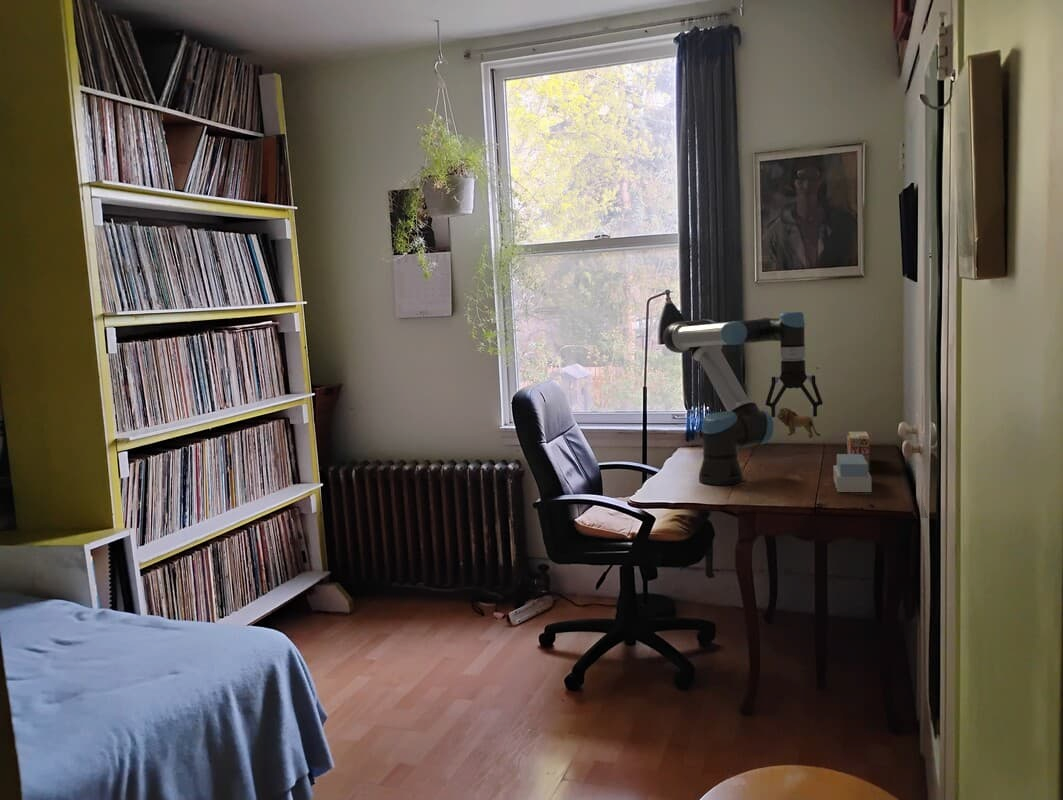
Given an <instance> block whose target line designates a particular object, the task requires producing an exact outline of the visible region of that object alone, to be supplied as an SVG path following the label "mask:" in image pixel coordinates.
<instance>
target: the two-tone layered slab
mask: <svg viewBox="0 0 1063 800" xmlns="http://www.w3.org/2000/svg"><path fill="white" fill-rule="evenodd" d="M832 469H833V482H835V483H834V485H836V486H835V489H836V488H837V489H836V492H837V491H838V492H872V476H871V474H870V471H869V472H868V464H867V462H866V460H865V459H864V457H863V455H862V454H848V453H836V465H833V467H832ZM838 492H837V493H838Z"/></svg>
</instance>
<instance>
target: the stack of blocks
mask: <svg viewBox="0 0 1063 800" xmlns="http://www.w3.org/2000/svg"><path fill="white" fill-rule="evenodd" d="M846 444H847V449H846V450H847V454H862V455H863V457H864V459H865V460H866V462H867V464H868V471H869V472H870V465H871V464H870V452H871V451H870V449H871V448H870V435H869V434H868V432H867V431H848V435H846Z"/></svg>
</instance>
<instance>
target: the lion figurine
mask: <svg viewBox="0 0 1063 800" xmlns="http://www.w3.org/2000/svg"><path fill="white" fill-rule="evenodd" d="M777 415H778V421H780V422H782V423H783V424H784V426H786V427H788V430H789V433H788V434H787V436H793V435H795V434H796V428H803V427H804V429H805V430H806V432H808V433H807V436H808V438H810V439H811V438H814V434H815V435H816V436H818V437H821V436H822V435H821V434H820V433H818V432H817V430H816V428H815V425H814V424H815V423H814V424H813V421H814V420H813V421H812V419H811V416H809V415H808V416H807V415H804V416H799V415H798V414H797V413H796V411H795V412H794V411H793V410H791V409H790V408H786V407H782V408H780V409H779V411H778V413H777ZM812 429H813V430H812ZM813 431H814V433H813Z"/></svg>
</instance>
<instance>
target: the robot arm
mask: <svg viewBox="0 0 1063 800" xmlns="http://www.w3.org/2000/svg"><path fill="white" fill-rule="evenodd" d="M805 326H806V323H805V317H804V313H803V312H802V311H785V312H781V313H780V314H779V318H773V317H771V318H770V317H761V318H758V319H750V320H732V321H727V322H716V321H714V320H712V319H703V318H702V319H698V320H687V321H686V320H685V321H676V322H673V323H671V324H669V325H668V326H667V327H666V328H665V330H664V332H663V335H662V340H663V344H664V346H665V348H666V349H668V350H669V351H671V352H673V353H677V354H681V353H682V354H684V353H690V355H691V356H692V358H693V360H694V361H696V362H700V364H701V367H702V368H703V370H704V372H705V373H706V375H707V376H708V378H709V381H710V383H711V384H712V386H713V389H714V390H715V392H716V394H717V395H718V398H719V399H720V400H721V402H722V405H723V406H724V407H725V408H724V409H726V411H721V412H719V411H718V412H713V413H710V414H707V415H706V416H704V418H703V420H702V427H701V432H702V451H703V452H702V453H703V457H702V461H701V467H700V470H699V473H698V481H699V483H701V482H703V483H702V484H704V483H707V484H706V485H710V484H713V485H712V486H730V485H729V484H732V485H737V484H741V483H743V482H744V480H745V479H744V472H743V468H742V466H741V464H740V461H739V455H738V449H741V448H747V447H754V446H760V445H763V444H766V443H768V442H769V441H770V439H771V438H773V434H774V428H778V426H779V423H778V422H779V418H778V406H776V405H777V404H778V403H779V401H780V399H781V398H782V396H783V395H784V393H785V391H786V390H787V389H801V390H802V392H803V393H804V395H805V396H806V398H807V400H808V401H809V402H810V403H811V405H810V418H811V419H812V421H813V424H815V423H814V417H817V416H818V407H819V406H822V405H823V403H824V402H823V399H822V397H821V394H820V392H819V389H818V386H817V383H816V375H815V374H812V375H807V373H806V360H804V359H805V358H806V346H805V345H806V342H805V341H806V340H805ZM778 341H779V342H780V359H781V362H780V375H778V376H777V375H776V376H774V375H773V376H771V385H770V388H769V391H768V394H767V398H766V401H765V406H766V407H770V410H771V411H770V413H771V414H770V413H769V412H768V411H766V410H763V409H762V410H760V408H759V407H758V405H757V404H756V402H754V401H750V399H749V397H748V395H747V394H746V392H745V390H744V389H743V387H742V385H741V383H740V382H739V380H738V378H737V377H736V375H735V373H734V371H733V369H732V367H731V366H730V364H729V363H728V361H727V359H726V357H725V355H724V353H723V352H722V348H723V346H725V345H729V346H731V345H732V346H737V345H742V344H743V345H744V344H750V343H751V344H752V343H761V342H762V343H763V342H778ZM806 380H808V381H809V383H811V386H812V388H813V391H814V393H815V396H816V399H817V401H815V399H814V398H813V396H812V394H811V393H810V391H809V390H808V389H807V388H806V386H805V382H806ZM779 381H781V383H782V386H781V387H780V389H779V391H778V393H777V395H776V396H775V397H774V399H773V401H772V396H773V394H774V391H775V388H776V384H777V383H778V382H779ZM771 401H772V402H771ZM773 418H774V419H773ZM774 423H775V424H774ZM774 426H775V427H774ZM742 481H743V482H742ZM740 482H741V483H740ZM736 483H737V484H736Z"/></svg>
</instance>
